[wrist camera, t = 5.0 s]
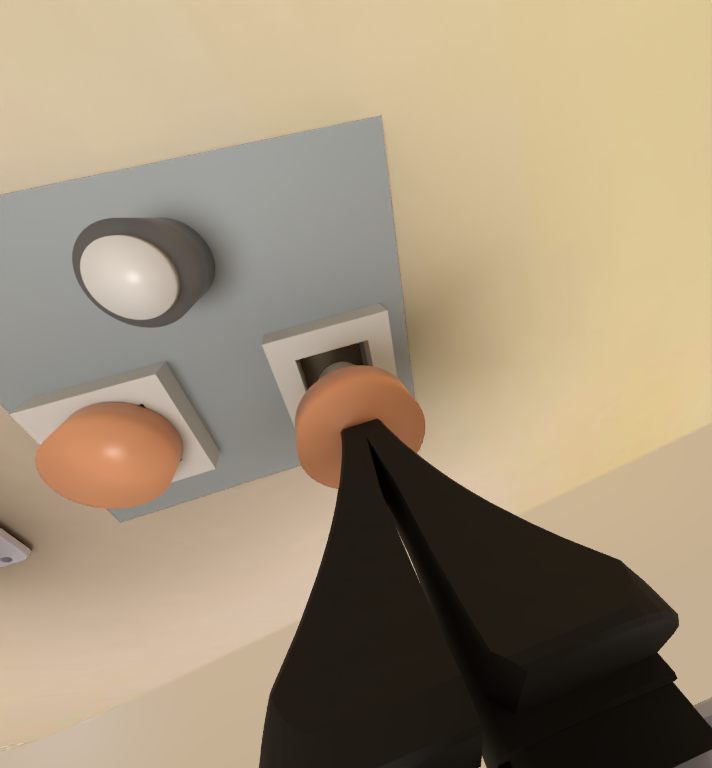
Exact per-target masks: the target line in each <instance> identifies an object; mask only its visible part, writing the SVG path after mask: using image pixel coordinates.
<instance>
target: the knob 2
mask: <svg viewBox="0 0 712 768" xmlns="http://www.w3.org/2000/svg"><path fill="white" fill-rule="evenodd" d="M374 419H379V420H381V421H382V422H383V423H384V424H385V425H386V426H387V427H388V428H389V429H390V430H391V431H392V432H393V433H394V434H395V435H396V436H397V437H398V438H399V439H400V440H401V441H402V442H403V443H405V444H406V445H407V446H408V447H409V448H411V449H412V450H413V451H414V452H415V453H417V452H418V451H419V449H420V447H421V444H422V442H423V439H424V434H425V419H424V415H423V412H422V410H421V408H420V406H419V405H418V403H417V402H416V401H415V399H414V398H413V397H412V395H411V394H410V393H409V391H408V390H407V389H406V387H405V386H404V385H403V384H402V382H401V381H400V380H399V379H398V378H397V377H396V376H394V375H393V374H391V373H390V372H388V371H386V370H383V369H381V368H377V367H373V366H363V365H358V366H356V365H354V364H352V363H349V362H336V363H333V364H331V365H329V366H328V367H326V368H325V369H324V370H323V371H322V373H321V374H320V376H319V379H318V381H317V382H315V383H314V384H313V385H312V386H311V387H310V388H309V389H308V390H307V391H306V393H305V394H304V396H303V397H302V399H301V401H300V403H299V405H298V408H297V410H296V415H295V432H296V443H297V453H298V458H299V461H300V463H301V465H302V467H303V469H304V470H305V471H306V473H307V474H308V475H309V476H310V477H311V478H313V479H314V480H316V481H317V482H319V483H321V484H323V485H326V486H328V487H332V488H336V489H339V482H340V473H341V462H342V440H341V434H340V433H341V431H342V430H343V429H345V428H348V427H352V426H355V425H358V424H361V423H365V422H368V421H371V420H374Z"/></svg>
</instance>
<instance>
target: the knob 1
mask: <svg viewBox="0 0 712 768" xmlns="http://www.w3.org/2000/svg"><path fill="white" fill-rule="evenodd" d="M182 452H183V445H182V440H181V438H180V435H179V434H178V432H177V430H176V429H175V428H174V426H173V425H172V424H171V423H170V422H169V421H167V420H166V419H165V418H164V417H162V416H160V415H159V414H157V413H155V412H153V411H151V410H149V409H146V407H145V406H144V404H140V405H133V404H128V403H119V402H106V403H98V404H93V405H89V406H86V407H84V408H81V409H79V410H77V411H76V412H74V413H73V414H71V415H70V416H69V417H68V418H67V419H66V420H65V421H64V422H63V423H62V424H61V425H60V426H59V427H58V428H57V429H56V430H55V431H54V432H52V433H51V434H50V435H49V436H48V437H47V438H46V439H45V440H44V441H43V442H42V444H41V445H40V447H39V449H38V451H37V455H36V465H37V469H38V472H39V474H40V476H41V477H42V479H43V480H44V482H45V483H46V484H47V485H48V486H49V487H50V488H52V489H53V490H54V491H55V492H57V493H58V494H60V495H62V496H63V497H65V498H67V499H69V500H72V501H74V502H77V503H80V504H83V505H87V506H92V507H97V508H107V509H120V508H129V507H135V506H139V505H142V504H145V503H148V502H150V501H152V500H154V499H156V498H157V497H159V496H160V495H161V494H163V493H164V492H165V491H166V490H167V488H168V487H169V486H170V484H171V482H172V480H173V477H174V475H175V472H176V469H177V467H178V464H179V462H180V459H181V457H182Z"/></svg>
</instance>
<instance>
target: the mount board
mask: <svg viewBox="0 0 712 768" xmlns="http://www.w3.org/2000/svg"><path fill="white" fill-rule="evenodd" d="M107 218H170V219H174V220H177V221H180V222H182V223H184V224H186V225H188V226H189V227H191V228H192V229H194V230H195V231H196V232H197V233H198V234H199V235H200V236H201V237H202V238H203V239H204V240H205V242H206V243H207V245H208V246H209V248H210V250H211V252H212V255H213V257H214V262H215V276H214V280H213V283H212V285H211V287H210V288H209V289H208V291H207V292H206V293H205V294H204V295H203V296H202V297H201V298H200V299H199V300H198V301H197V302H196V303H195V304H194V305H193V306H192V307H191V308H190V310H189V311H188V312H187V313H186V314H185V315H184V316H183V317H182V318H180V319H179V320H177V321H176V322H174V323H172V324H169V325H166V326H162V327H155V328H144V327H137V326H133V325H129V324H126V323H124V322H121V321H119V320H117V319H115V318H113V317H111V316H109V315H108V314H106V313H105V312H103V311H102V310H101V309H99V308H98V307H97V306H96V305H95V304H94V303H93V302H92V301H91V300H90V299H89V298H88V297H87V295H86V294H85V293H84V291H83V290H82V288H81V287H80V285H79V283H78V281H77V279H76V276H75V273H74V270H73V264H72V252H73V247H74V244H75V241H76V239H77V238H78V236H79V234H80V233H81V232H82V231H83V230H84V229H85V228H86V227H88V226H89V225H90V224H92V223H94V222H96V221H99V220H103V219H107ZM355 343H359V347H360V352H361V357H362V361H363V366H373V367H377V368H381V369H383V370H386V371H388V372H390V373H391V374H393V375H394V376H396V377H397V378H398V379H399V380H400V381H401V382H402V384H403V385H404V386H405V387H406V389H407V390H408V391H409V393H410V394H411V395H412V397H413V398H414V390H413V381H412V373H411V364H410V356H409V347H408V339H407V330H406V321H405V313H404V304H403V296H402V287H401V279H400V270H399V262H398V253H397V245H396V236H395V228H394V219H393V211H392V202H391V194H390V185H389V177H388V168H387V160H386V151H385V143H384V134H383V125H382V117H381V116H376V117H372V118H367V119H362V120H357V121H352V122H348V123H343V124H338V125H333V126H328V127H324V128H319V129H314V130H309V131H304V132H300V133H295V134H290V135H285V136H281V137H276V138H271V139H266V140H261V141H257V142H252V143H247V144H242V145H237V146H233V147H228V148H223V149H218V150H213V151H209V152H204V153H199V154H194V155H189V156H185V157H180V158H175V159H170V160H165V161H161V162H156V163H151V164H146V165H142V166H137V167H132V168H127V169H122V170H118V171H113V172H108V173H103V174H98V175H94V176H89V177H84V178H79V179H74V180H70V181H65V182H60V183H55V184H50V185H46V186H41V187H36V188H31V189H26V190H22V191H17V192H12V193H7V194H3V195H0V404H1V405H2V406H3V407H4V408H5V409H6V410H7V411H8V412H9V413H10V414H9V415H10V416H11V417H12V418H13V419H14V420H15V421H16V422H17V423H18V424H19V425H20V426H21V427H22V428H23V429H24V430H25V431H26V432H27V433H28V434H29V435H30V436H31V437H32V438H33V439H34V440H35V441H36V442H37V443H38V444H39V445H41V444H42V442H43V441H44V440H45V439H46V438H47V437H48V436H49V435H50V434H51V433H52V432H54V431H55V430H56V429H57V428H58V427H59V426H60V425H61V424H62V423H63V422H64V421H65V420H66V419H67V418H68V417H69V416H70V415H71V414H73V413H74V412H76V411H77V410H79V409H81V408H84V407H86V406H89V405H93V404H98V403H106V402H119V403H128V404H133V405H140V404H144V406H145V407H146V409H149V410H151V411H153V412H155V413H157V414H159V415H160V416H162V417H164V418H165V419H166V420H167V421H169V422H170V423H171V424H172V425H173V426H174V428H175V429H176V430H177V432H178V434H179V435H180V438H181V440H182V445H183V452H182V457H181V459H180V462H179V464H178V467H177V469H176V472H175V475H174V477H173V480H172V482H171V484H170V486H169V487H168V488H167V490H166V491H165V492H164V493H163V494H161V495H160V496H159V497H157V498H156V499H154V500H152V501H150V502H148V503H145V504H142V505H139V506H135V507H129V508H120V509H107V508H106V509H107V510H108V511H109V512H110V513H111V514H112V515H113V516H114V517H115V518H116V519H117V520H118V521H119V522H120V523H121V522H124V521H127V520H130V519H133V518H136V517H140V516H143V515H146V514H149V513H152V512H155V511H158V510H162V509H165V508H168V507H171V506H174V505H177V504H180V503H184V502H187V501H190V500H193V499H196V498H199V497H202V496H206V495H209V494H212V493H215V492H218V491H221V490H224V489H228V488H231V487H234V486H237V485H240V484H243V483H246V482H250V481H253V480H256V479H259V478H262V477H265V476H269V475H272V474H275V473H278V472H281V471H284V470H287V469H291V468H294V467H297V466H300V465H301V463H300V461H299V458H298V453H297V443H296V432H295V415H296V410H297V408H298V405H299V403H300V401H301V399H302V397H303V396H304V394H305V393H306V391H307V390H308V389H309V387H308V384H307V381H306V378H305V375H304V372H303V369H302V366H301V363H300V360H299V359H302V358H306V357H309V356H313V355H317V354H320V353H324V352H327V351H331V350H334V349H338V348H341V347H345V346H348V345H352V344H355ZM414 399H415V398H414Z"/></svg>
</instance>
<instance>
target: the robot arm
mask: <svg viewBox="0 0 712 768" xmlns="http://www.w3.org/2000/svg"><path fill="white" fill-rule="evenodd" d="M340 434H341V440H342V462H341V473H340V482H339V489H338V495H337V501H336V507H335V512H334V516H333V521H332V525H331V529H330V533H329V537H328V541H327V544H326V548H325V551H324V555H323V558H322V561H321V565H320V568H319V571H318V574H317V577H316V580H315V583H314V586H313V588H312V591H311V594H310V597H309V599H308V602H307V605H306V608H305V610H304V613H303V616H302V618H301V621H300V624H299V626H298V629H297V631H296V634H295V636H294V638H293V641H292V643H291V645H290V648H289V650H288V652H287V655H286V657H285V659H284V662H283V664H282V666H281V669H280V672H279V673H278V676H277V678H276V680H275V683H274V685H273V688H272V690H271V693H270V696H269V701H268V706H267V712H266V718H265V723H264V730H263V738H262V744H261V755H260V763H259V768H479V767H481V758H482V756H483V759H484V762H485V764H486V767H487V768H712V697H711V698H709V699H707V700H705V701H703V702H700V703H698V704H696V705H694V706H693V705H692V704H691V703H690V702H689V700H688V699H687V698H686V697H685V696H684V695H683V693H682V692H681V691H680V690H679V689H678V688H677V686H676V685H675V684H674V683H673V681H675V680H676V679H677V677H676V675H675V672H674V671H673V670H672V669H671V668H670V667H669V665H668V664H667V663H666V662H665V661H664V660H663V659H662V657H661V656H660V655H659V654H658V653H657V652H658V651H659V650H660V648H662V646H663V645H664V644H665V643H666V642H667V640H669V638H670V637H671V636H672V635H673V634H674V632H675V631H676V629H677V628H678V626H679V620H678V614H677V613H676V612H675V611H674V610H673V609H672V608H671V607H670V606H669V605H668V604H667V603H666V602H665V601H664V600H663V599H662V598H661V597H660V596H659V595H658V594H657V593H656V592H655V591H654V590H653V589H652V588H651V587H650V586H649V585H648V584H647V583H646V582H645V581H644V580H642V579H641V578H640V577H639V576H638V575H637V574H635V573H634V572H633V571H632V570H631V569H629V568H628V567H627V566H626V565H625V564H624V563H623V562H622V561H620V560H618V559H616V558H613V557H610V556H608V555H606V554H603V553H600V552H598V551H595V550H593V549H590V548H588V547H585V546H583V545H580V544H578V543H575V542H573V541H570V540H568V539H565V538H563V537H560V536H558V535H556V534H554V533H552V532H549V531H547V530H545V529H543V528H541V527H538V526H536V525H534V524H532V523H530V522H528V521H526V520H524V519H522V518H520V517H518V516H516V515H514V514H512V513H510V512H508V511H506V510H504V509H502V508H500V507H498V506H496V505H494V504H492V503H490V502H489V501H487V500H485V499H483V498H482V497H480V496H478V495H476V494H475V493H473V492H471V491H470V490H468V489H466V488H465V487H463V486H462V485H460V484H458V483H457V482H455V481H454V480H452V479H451V478H449V477H448V476H446V475H445V474H443V473H442V472H440V471H439V470H438V469H436V468H435V467H433V466H432V465H431V464H429V463H428V462H427V461H425V460H424V459H423V458H422V457H420V456H419V455H418V454H417V453H415V452H414V451H413V450H412V449H411V448H409V447H408V446H407V445H406V444H405V443H403V442H402V441H401V440H400V439H399V438H398V437H397V436H396V435H395V434H394V433H393V432H392V431H391V430H390V429H389V428H388V427H387V426H386V425H385V424H384V423H383V422H382V421H381V420H379V419H374V420H371V421H368V422H365V423H361V424H358V425H355V426H352V427H348V428H345V429H343V430H342V431H341V433H340ZM396 528H397V529H396ZM398 533H399V534H398ZM399 535H400V536H399ZM400 537H401V538H400ZM401 539H402V541H403V543H404V545H405V548H406V550H407V552H408V554H409V556H410V559H411V561H412V563H413V566H414V568H415V570H416V573H417V575H416V573H415V571H414V568H413V566H412V564H411V562H410V559H409V557H408V555H407V552H406V550H405V548H404V545H403V543H402V541H401ZM30 553H31V551H30V549H29V548H28V547H26V546H25V545H24V544H22V543H21V542H19V541H18V540H17V539H15V538H14V537H13V536H11V535H10V534H8V533H7V532H6V531H4V530H3V529H2V528H0V568H1V567H4V566H7V565H11V564H14V563H17V562H20V561H23V560H25V559H26V558H27V557H28V555H29V554H30ZM417 576H418V578H417ZM418 579H419V580H418ZM419 581H420V582H419Z"/></svg>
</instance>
